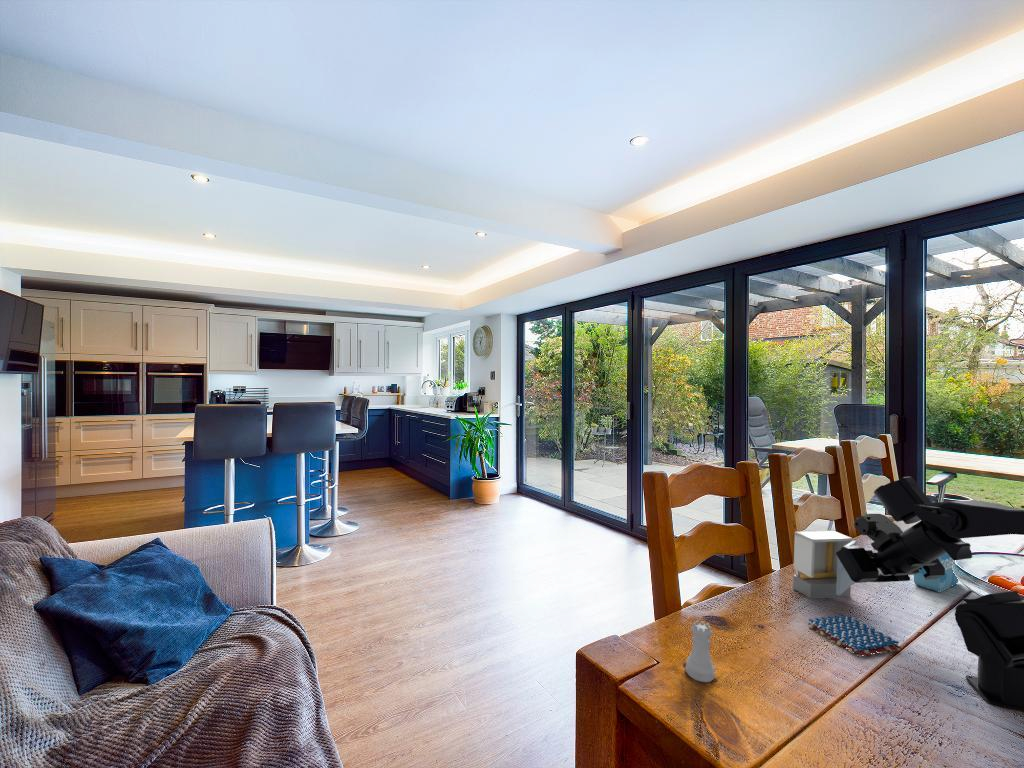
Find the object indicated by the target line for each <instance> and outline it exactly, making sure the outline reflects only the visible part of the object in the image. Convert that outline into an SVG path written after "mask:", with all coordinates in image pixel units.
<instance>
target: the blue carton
mask: <svg viewBox="0 0 1024 768" xmlns="http://www.w3.org/2000/svg"><path fill="white" fill-rule="evenodd" d="M938 559H939V561H940V562H941V564H942V565H943V566H944V568H945V575H944V576H942V577H940V578H938V579H925V578H924V577H923V575H924V574H926V571H925V570H924V568H923V567H921V568H922V570H919V572H920V573H918V574H916V575H913V583H914V584H915V585H916V586H918V585H919V587H922V588H924V589H925V588H926V589H927V590H931V589H932V590H931V591H934V590H935V591H934V592H937V591H938V592H937V593H941V592H943V591H945V590H947V589H946V588H948V587H950V586H952V585H954V586H956V585H957V584H958V582H959V580H958V579H957V577H956V576H955V574H954V573H953V570H952V562H953V559H952V558H951V557H950V556H949V555H948V553H947V554H945V555H943V556H941V557H939V558H938ZM956 583H957V584H956ZM955 584H956V585H955ZM952 587H953V586H952ZM950 588H951V587H950ZM944 589H945V590H944ZM948 589H949V588H948ZM942 590H943V591H942ZM940 591H941V592H940Z"/></svg>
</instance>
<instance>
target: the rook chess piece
mask: <svg viewBox="0 0 1024 768" xmlns="http://www.w3.org/2000/svg"><path fill="white" fill-rule="evenodd" d="M690 632H691V633H692V634H693V636H691V640H692V648H691V653H690V654H689V656H688V658H687V659H686V662H685V671H686V673H687V675H688V676H689V677H690V678H691V679H692V680H695V681H697V682H699V683H711V682H712V681H713V680H714V679H715V678H716V673H715V672H716V668H715V665H714V663H713V661H712V658H711V652H710V645H711V643H712V642H711V640H710V638H711V637H712V636H713V631H712V630H711V626H710V624H709V623H705V621H702V620H700V623H699V620H695V622H694V621H693V623H692V626H691V627H690Z"/></svg>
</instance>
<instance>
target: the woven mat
mask: <svg viewBox="0 0 1024 768" xmlns="http://www.w3.org/2000/svg"><path fill="white" fill-rule="evenodd" d="M808 621H809V623H807V625H808V628H809V629H811V630H815V632H816V633H818V634H820V636H823V637H824V636H826V639H828V640H830V642H831V643H832V642H833V643H832V644H834V642H836V643H835V644H836V645H837V646H839V647H847V648H849V649H847V651H848V652H849V653H850V652H852V653H851V654H854V653H853V652H856V653H855V654H856V655H857V654H858V655H857V656H862V655H868V656H869V657H870V656H872V655H871V653H872V654H873V653H875V654H874V655H878V654H877V652H886V653H892V652H896V651H900V650H901V649H902V647H901V646H900V645H898V644H900V642H899V640H896V639H894V638H892V637H891V636H888V635H886V634H884V633H883V632H881V631H879V630H876V628H874V627H870V626H869V625H867V624H866V623H863V622H862V621H860V620H859V619H855V618H854V617H852V616H850V615H845V614H841V613H840V615H836V614H835V615H834V617H833V616H830V615H828V616H827V617H824V616H822V617H821V618H818V617H815V619H811V618H808ZM810 622H811V623H810ZM819 632H820V633H819ZM846 644H847V645H846ZM840 645H842V646H840ZM876 651H877V652H876ZM857 656H856V657H857ZM868 656H867V657H868Z"/></svg>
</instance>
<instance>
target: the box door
mask: <svg viewBox="0 0 1024 768" xmlns="http://www.w3.org/2000/svg"><path fill="white" fill-rule="evenodd" d="M845 546H857V540H852V541H851V542H850V543H848V544H847V545H845ZM854 584H855V582H854V581H852V580H851V579H850V577H849V575H848V573H847V572H846V570H845V568H844V567H843V565H842V563H841V561H840V560H839V558H838V557H837V584H836V594H837V595H841V594H842V593H843V592H844V591H846V590H847V589H848V588H849V587H850V586H851V587H852V586H853V585H854Z"/></svg>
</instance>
